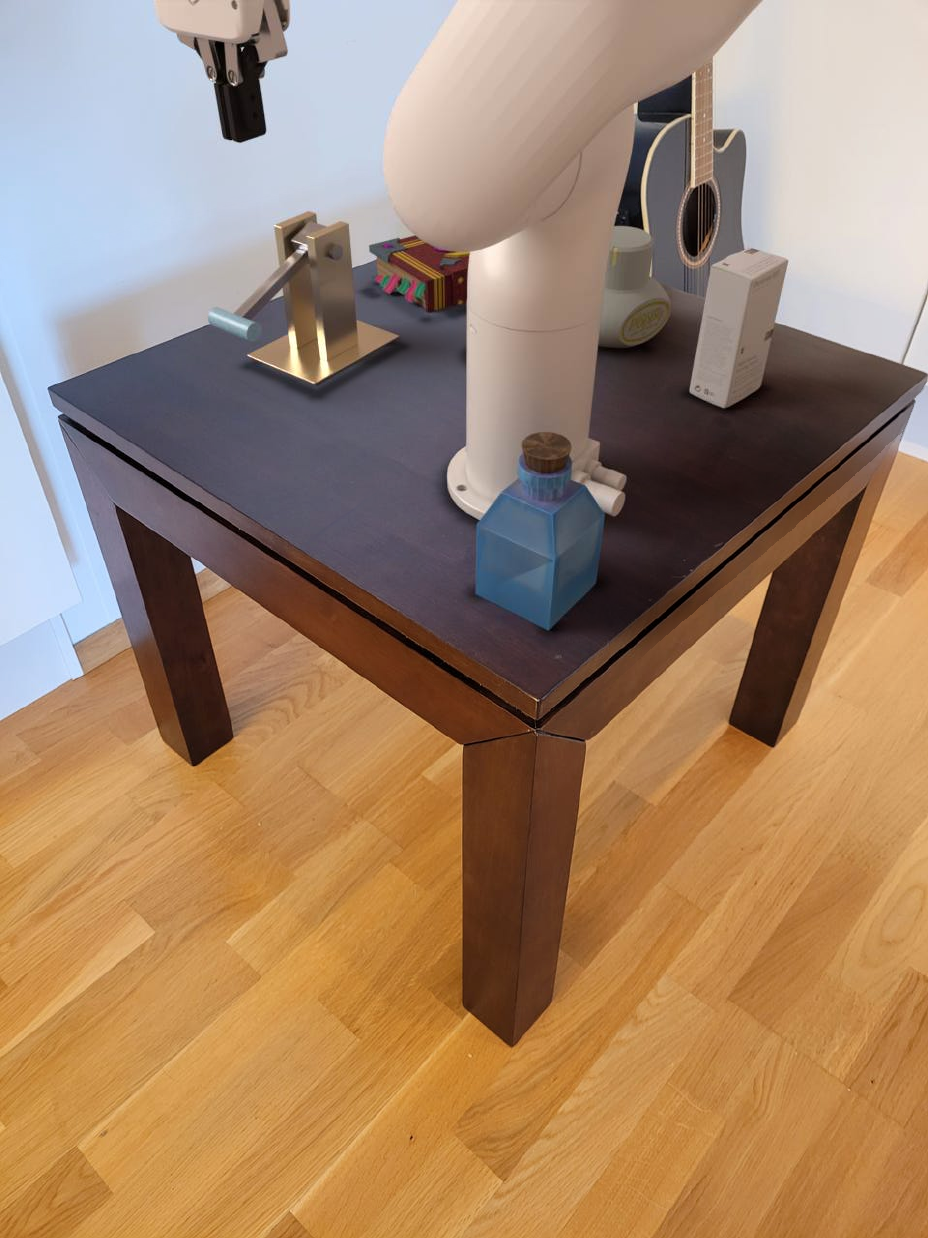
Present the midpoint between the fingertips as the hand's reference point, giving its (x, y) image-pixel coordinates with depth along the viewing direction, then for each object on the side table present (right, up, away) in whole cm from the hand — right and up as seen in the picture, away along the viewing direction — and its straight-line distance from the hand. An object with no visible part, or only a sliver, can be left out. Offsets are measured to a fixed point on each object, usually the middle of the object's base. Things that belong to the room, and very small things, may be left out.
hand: (245, 136), depth 74 cm
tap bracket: (+4, -12, +19) cm, 23 cm away
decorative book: (+16, -1, +30) cm, 34 cm away
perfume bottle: (+22, -36, -6) cm, 43 cm away
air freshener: (+32, -9, +22) cm, 40 cm away
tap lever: (+1, -9, +10) cm, 14 cm away
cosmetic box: (+41, -17, +14) cm, 47 cm away
